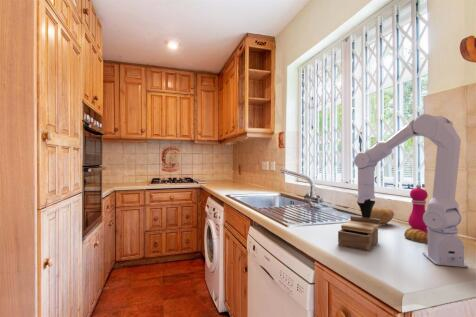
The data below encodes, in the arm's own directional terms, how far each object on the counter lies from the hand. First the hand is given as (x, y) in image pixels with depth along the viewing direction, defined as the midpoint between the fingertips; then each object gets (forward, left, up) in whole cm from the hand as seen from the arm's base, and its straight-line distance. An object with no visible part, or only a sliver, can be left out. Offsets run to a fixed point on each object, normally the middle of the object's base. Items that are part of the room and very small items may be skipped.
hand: (366, 219), depth 102 cm
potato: (+24, -10, -7) cm, 27 cm away
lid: (-6, +3, -2) cm, 7 cm away
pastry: (+3, -18, -8) cm, 20 cm away
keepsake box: (-9, +4, -7) cm, 12 cm away
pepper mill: (+12, -22, -7) cm, 26 cm away
